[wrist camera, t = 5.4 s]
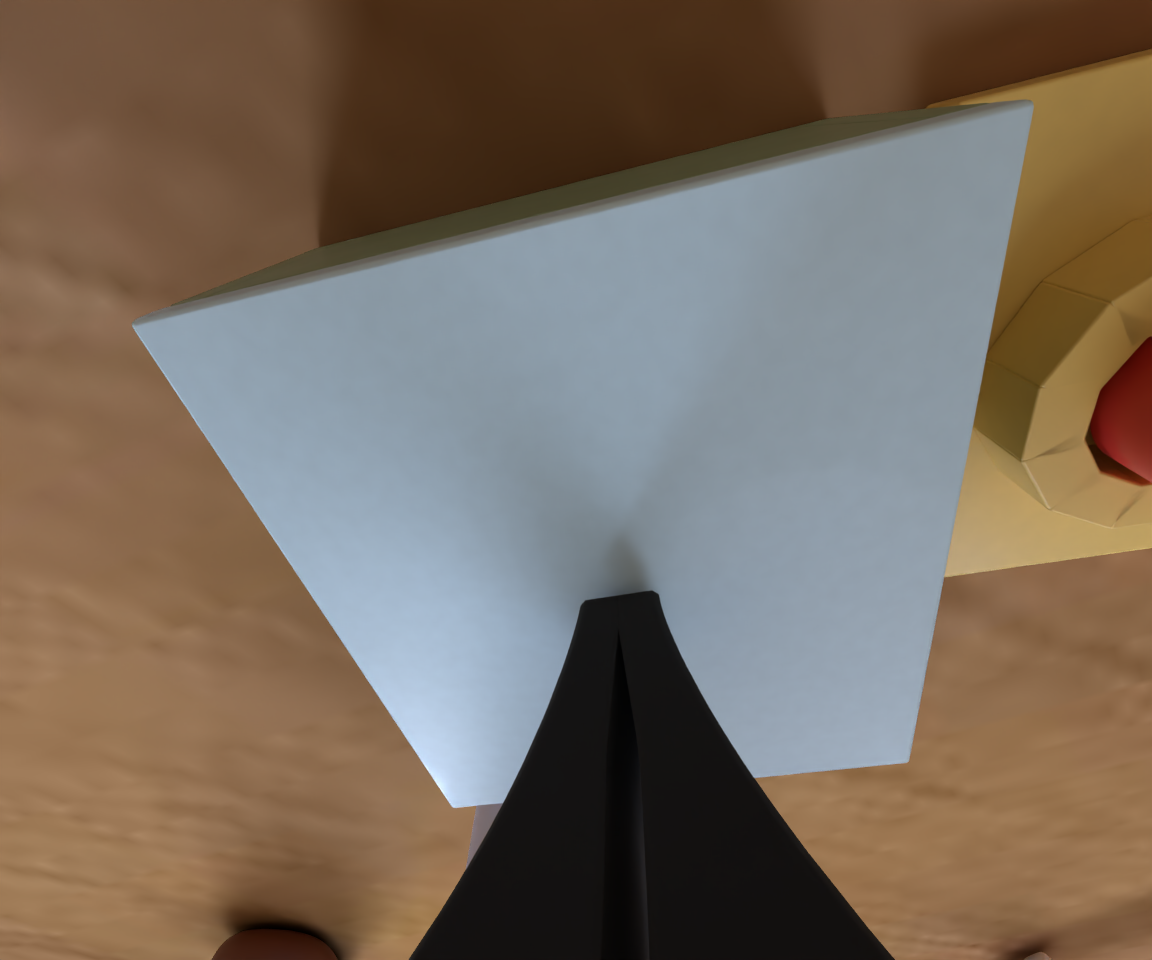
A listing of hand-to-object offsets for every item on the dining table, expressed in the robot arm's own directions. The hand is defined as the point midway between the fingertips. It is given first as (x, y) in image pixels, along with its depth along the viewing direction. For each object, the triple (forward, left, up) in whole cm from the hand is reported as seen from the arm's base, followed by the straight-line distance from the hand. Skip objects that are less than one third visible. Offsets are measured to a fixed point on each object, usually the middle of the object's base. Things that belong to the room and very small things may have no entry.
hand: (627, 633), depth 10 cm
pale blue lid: (+1, 0, -1) cm, 1 cm away
